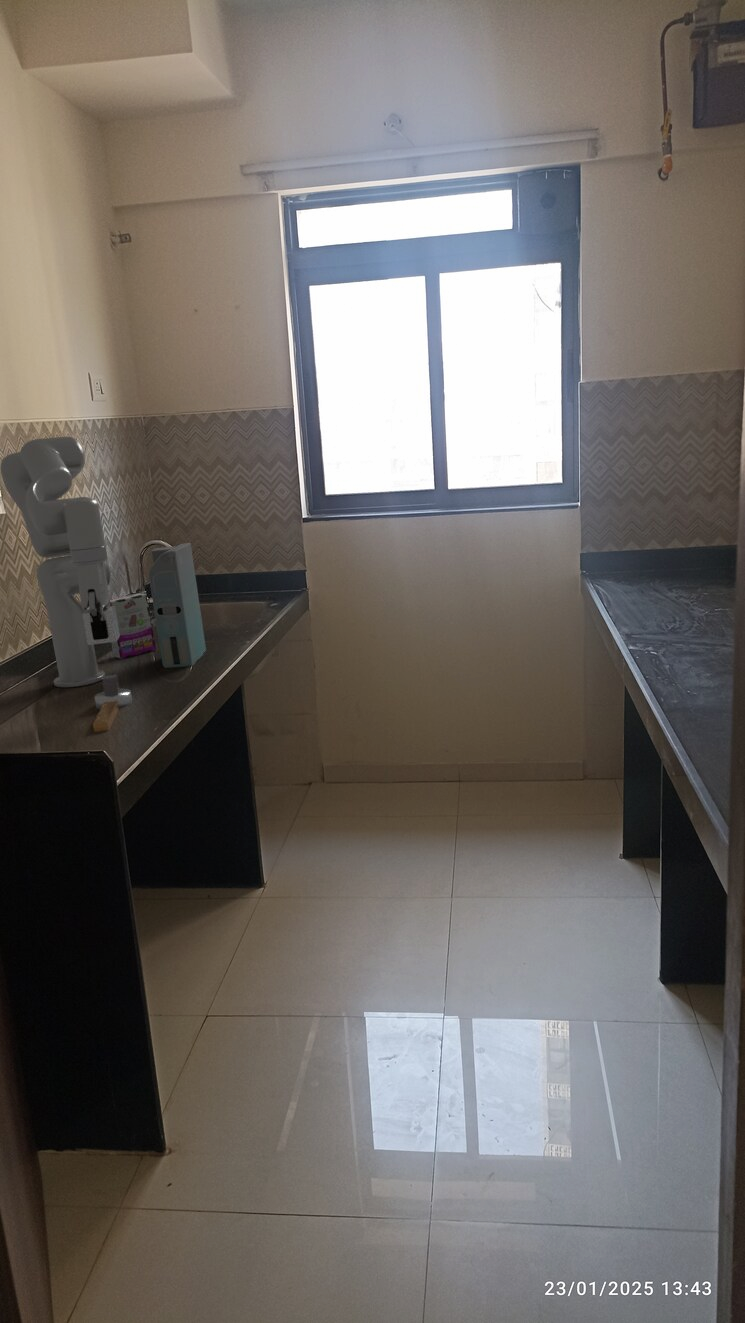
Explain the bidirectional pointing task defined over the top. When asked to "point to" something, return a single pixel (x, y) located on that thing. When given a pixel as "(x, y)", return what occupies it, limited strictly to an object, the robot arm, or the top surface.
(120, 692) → the hammer
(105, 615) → the white block
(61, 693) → the top surface
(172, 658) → the device
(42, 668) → the top surface
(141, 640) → the candy bar box
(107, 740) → the top surface
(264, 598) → the top surface
